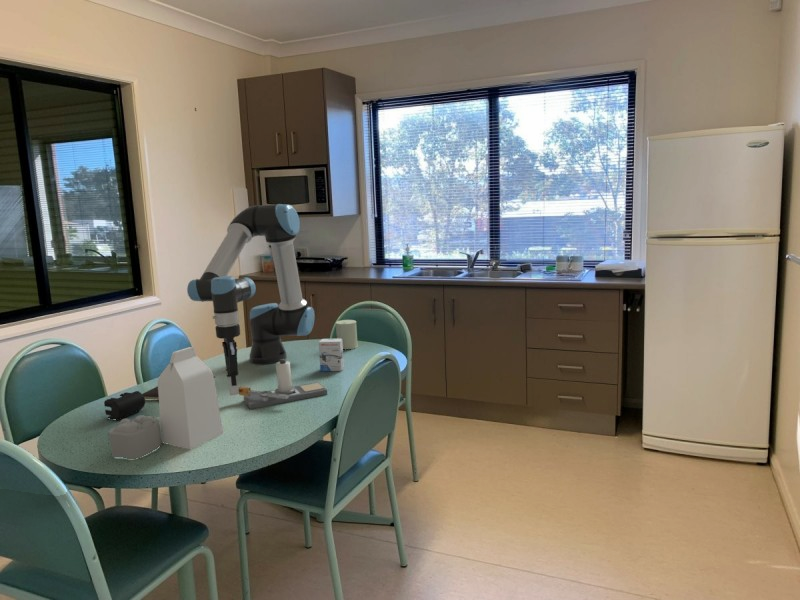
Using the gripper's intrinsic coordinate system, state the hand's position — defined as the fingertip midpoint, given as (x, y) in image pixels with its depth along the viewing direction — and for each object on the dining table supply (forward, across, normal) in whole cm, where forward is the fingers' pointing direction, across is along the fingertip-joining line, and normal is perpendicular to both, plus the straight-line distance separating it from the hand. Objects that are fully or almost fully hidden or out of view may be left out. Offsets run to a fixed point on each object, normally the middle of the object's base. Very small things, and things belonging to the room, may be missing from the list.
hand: (234, 394), depth 196 cm
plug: (+3, +4, +16) cm, 17 cm away
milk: (+3, +24, -16) cm, 29 cm away
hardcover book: (+4, -26, -16) cm, 31 cm away
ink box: (+3, -18, +40) cm, 44 cm away
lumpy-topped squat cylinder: (+4, +24, -30) cm, 38 cm away
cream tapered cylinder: (+3, -47, +57) cm, 74 cm away
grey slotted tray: (+3, +4, +16) cm, 17 cm away
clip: (+1, +7, +8) cm, 10 cm away
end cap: (+3, -8, -33) cm, 34 cm away
